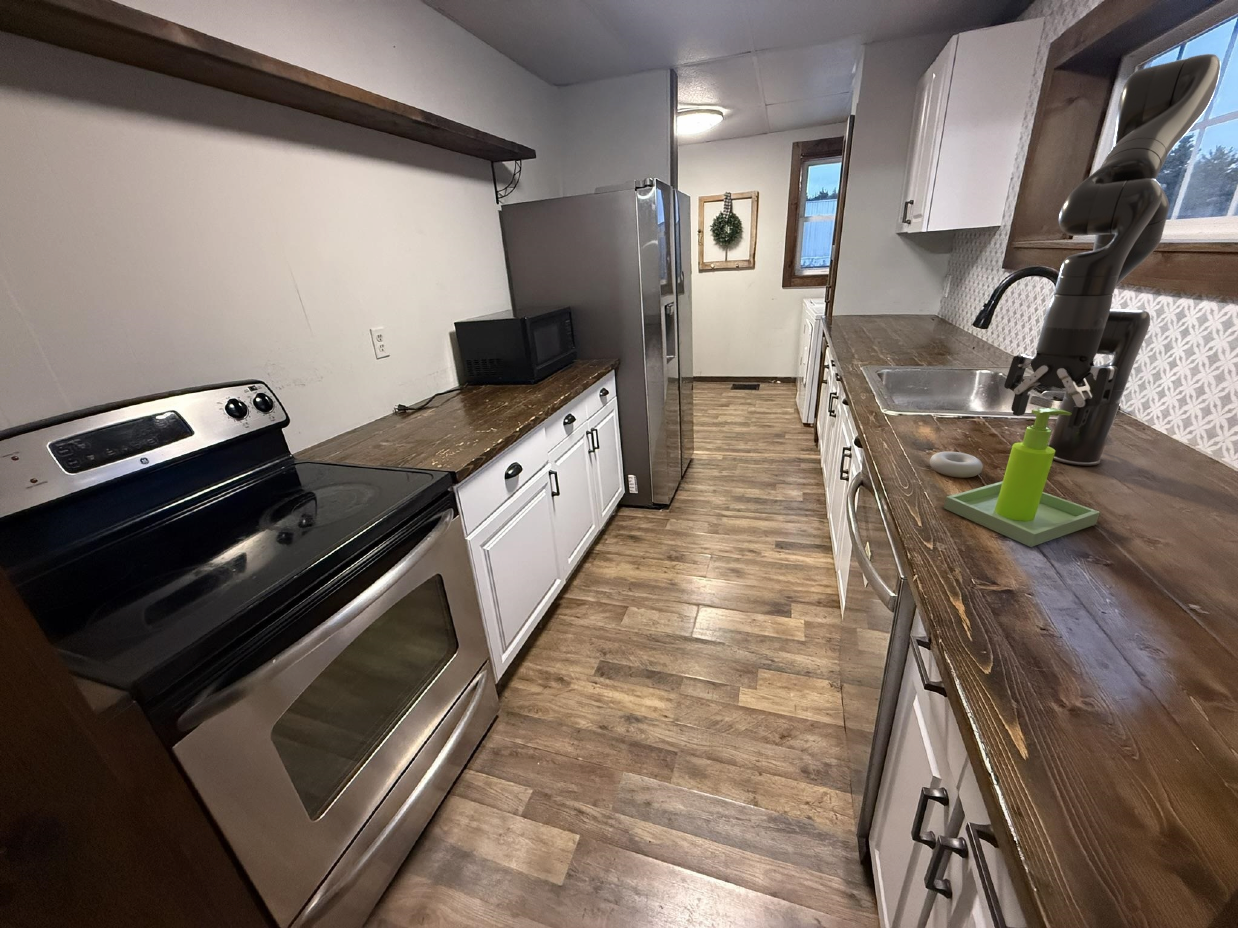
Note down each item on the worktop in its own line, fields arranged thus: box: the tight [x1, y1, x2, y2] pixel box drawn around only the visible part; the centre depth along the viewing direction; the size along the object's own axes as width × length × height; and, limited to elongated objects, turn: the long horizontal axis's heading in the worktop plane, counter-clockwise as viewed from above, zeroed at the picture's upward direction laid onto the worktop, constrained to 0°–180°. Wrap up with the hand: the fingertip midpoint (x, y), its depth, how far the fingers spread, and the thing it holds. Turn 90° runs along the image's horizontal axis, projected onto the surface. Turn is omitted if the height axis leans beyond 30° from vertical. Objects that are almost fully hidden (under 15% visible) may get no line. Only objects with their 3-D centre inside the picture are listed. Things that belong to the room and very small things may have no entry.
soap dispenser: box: [995, 407, 1072, 521], centre depth 88 cm, size 6×7×20 cm
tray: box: [943, 480, 1101, 548], centre depth 92 cm, size 18×16×2 cm
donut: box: [929, 450, 984, 479], centre depth 111 cm, size 10×4×10 cm
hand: (1044, 421), depth 85 cm, fingers open, 8 cm apart
